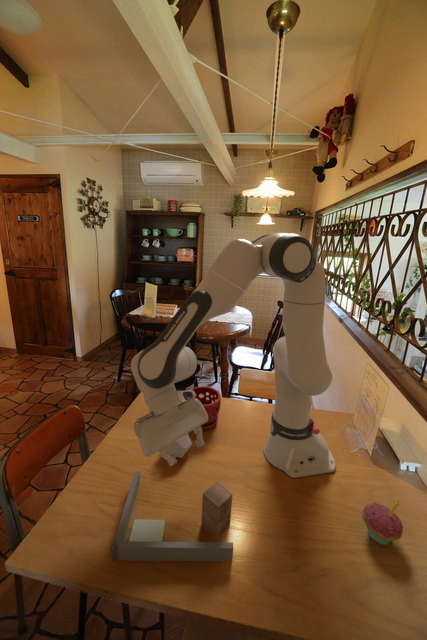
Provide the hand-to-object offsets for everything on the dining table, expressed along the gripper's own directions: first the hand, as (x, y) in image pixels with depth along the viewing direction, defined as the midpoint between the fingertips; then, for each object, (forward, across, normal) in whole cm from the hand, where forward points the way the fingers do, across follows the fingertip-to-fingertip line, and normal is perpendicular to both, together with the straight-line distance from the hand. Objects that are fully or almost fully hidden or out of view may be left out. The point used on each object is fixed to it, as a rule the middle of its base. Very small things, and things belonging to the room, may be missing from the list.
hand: (188, 454), depth 72 cm
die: (0, +8, +20) cm, 22 cm away
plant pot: (-4, +25, +25) cm, 36 cm away
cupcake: (+39, +27, -18) cm, 51 cm away
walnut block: (+18, 0, +2) cm, 18 cm away
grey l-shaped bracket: (+12, -5, +8) cm, 15 cm away
